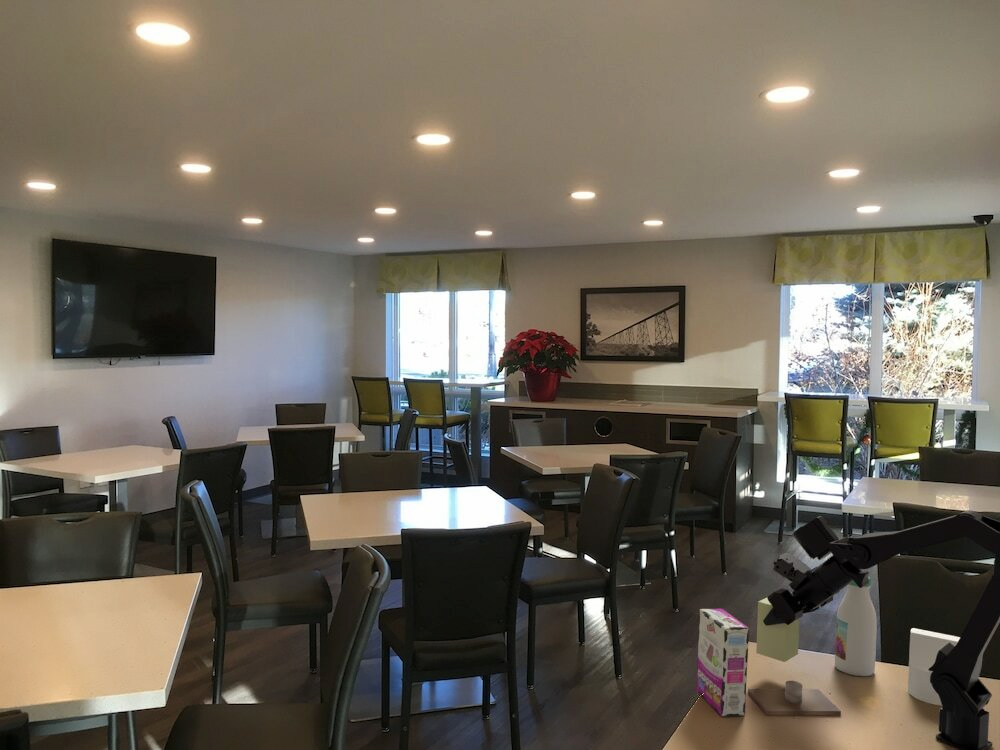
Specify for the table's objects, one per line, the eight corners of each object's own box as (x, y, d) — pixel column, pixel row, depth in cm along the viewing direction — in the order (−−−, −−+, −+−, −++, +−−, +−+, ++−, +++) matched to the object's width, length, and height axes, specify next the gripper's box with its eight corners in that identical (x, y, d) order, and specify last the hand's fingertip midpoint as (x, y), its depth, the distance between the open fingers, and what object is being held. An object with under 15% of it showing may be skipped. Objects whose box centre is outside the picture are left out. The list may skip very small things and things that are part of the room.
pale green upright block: (798, 654, 158) (800, 602, 157) (784, 662, 154) (786, 609, 153) (769, 645, 162) (771, 595, 162) (756, 653, 158) (758, 601, 157)
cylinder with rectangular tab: (961, 693, 154) (964, 633, 153) (958, 710, 146) (961, 647, 146) (910, 681, 159) (913, 623, 158) (905, 697, 151) (908, 636, 151)
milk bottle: (877, 668, 165) (881, 575, 164) (871, 680, 158) (875, 583, 157) (838, 659, 169) (842, 568, 168) (830, 671, 163) (835, 576, 162)
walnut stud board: (818, 693, 152) (819, 674, 152) (840, 715, 143) (841, 695, 143) (748, 692, 151) (748, 673, 151) (766, 715, 142) (766, 694, 142)
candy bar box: (747, 716, 142) (750, 627, 141) (721, 718, 141) (725, 628, 140) (719, 689, 153) (722, 606, 152) (695, 690, 152) (698, 607, 151)
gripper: (820, 536, 161) (767, 576, 169) (779, 551, 148) (724, 594, 156) (858, 582, 155) (801, 622, 164) (818, 603, 142) (759, 645, 151)
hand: (771, 619), depth 159 cm, fingers closed on pale green upright block, 6 cm apart
